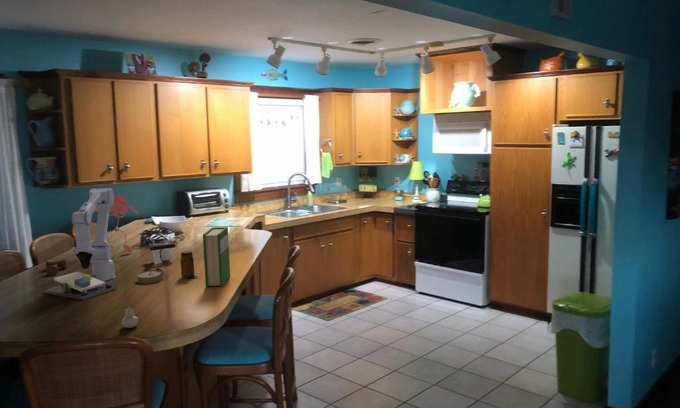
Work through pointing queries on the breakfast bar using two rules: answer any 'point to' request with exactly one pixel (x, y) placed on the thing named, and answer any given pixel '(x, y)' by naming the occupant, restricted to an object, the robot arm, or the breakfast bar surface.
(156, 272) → the alarm clock
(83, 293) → the base
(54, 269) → the kendama
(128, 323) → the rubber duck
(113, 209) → the figurine
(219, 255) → the hardback book
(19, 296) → the breakfast bar surface
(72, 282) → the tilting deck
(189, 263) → the condiment
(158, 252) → the black-topped pedestal
